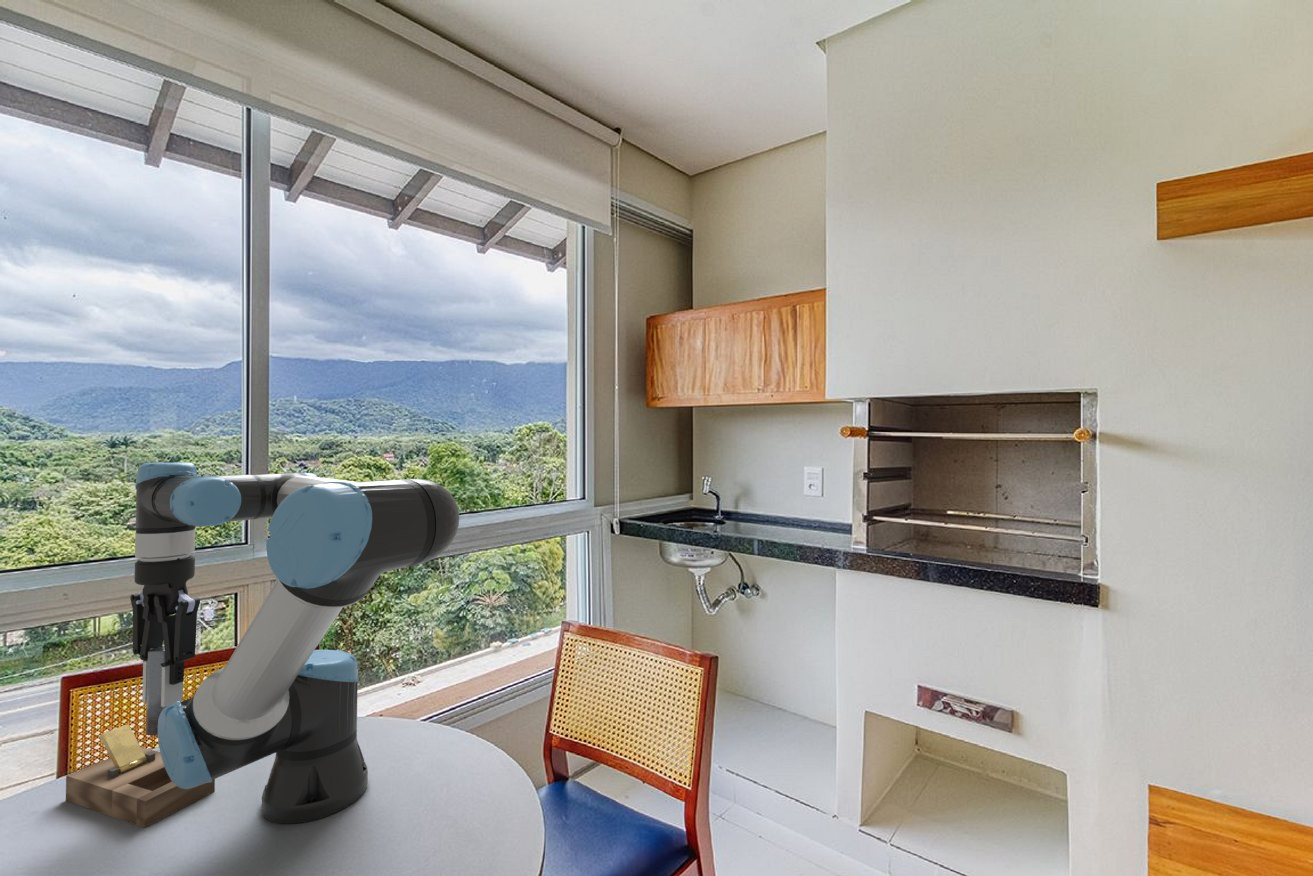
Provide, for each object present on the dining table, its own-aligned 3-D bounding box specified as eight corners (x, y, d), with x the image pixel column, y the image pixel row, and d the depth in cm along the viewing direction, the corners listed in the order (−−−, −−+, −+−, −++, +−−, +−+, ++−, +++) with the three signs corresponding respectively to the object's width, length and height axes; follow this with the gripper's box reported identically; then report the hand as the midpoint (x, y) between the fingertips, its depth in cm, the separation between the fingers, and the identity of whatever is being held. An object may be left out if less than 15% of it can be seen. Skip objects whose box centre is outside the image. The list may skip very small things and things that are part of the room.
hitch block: (214, 791, 97) (215, 760, 97) (144, 828, 88) (145, 793, 88) (138, 768, 104) (138, 739, 104) (65, 800, 94) (66, 768, 95)
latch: (144, 763, 98) (147, 760, 98) (118, 775, 95) (121, 771, 95) (125, 727, 100) (128, 724, 100) (99, 737, 97) (102, 733, 97)
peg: (184, 726, 96) (186, 646, 96) (156, 737, 92) (158, 654, 92) (167, 722, 97) (169, 643, 97) (139, 733, 93) (142, 651, 93)
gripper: (225, 556, 96) (222, 699, 95) (158, 549, 101) (155, 684, 101) (174, 564, 88) (171, 719, 88) (105, 557, 94) (101, 702, 94)
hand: (162, 700), depth 94 cm, fingers closed on peg, 4 cm apart
